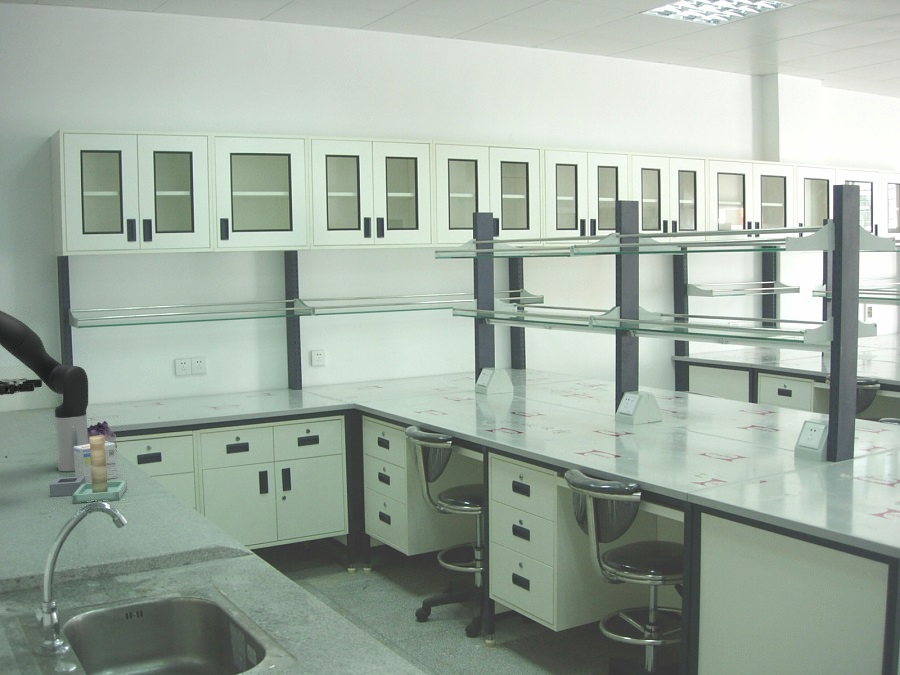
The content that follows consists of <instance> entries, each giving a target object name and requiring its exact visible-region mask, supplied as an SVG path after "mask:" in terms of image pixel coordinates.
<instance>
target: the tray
mask: <svg viewBox="0 0 900 675" xmlns="http://www.w3.org/2000/svg"><path fill="white" fill-rule="evenodd" d="M107 487H108V492H100V493H92V482H91V483H83V484H82V485H81V486H80V487H79V488H78V489H77V491H76V492H75V493H74V494H73V495H71V496H72V504H73V503H75V504H82V503H81V502H87V501H91V500H94V501H95V500H97V501H102V502H104V501H103V500H108V501H107V502H113V501H114V500H115V501H120V500H121V498H122V496H124V494H123V493H125V492H126V491H127V489H128V481H127V480H126V479H125V480H114V481H107ZM110 500H112V501H110ZM90 503H94V502H93V501H91V502H90Z"/></svg>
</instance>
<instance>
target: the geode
mask: <svg viewBox="0 0 900 675" xmlns="http://www.w3.org/2000/svg"><path fill="white" fill-rule="evenodd" d="M87 433H88V444H90V441H89V437H91V436H97V435H103V436H105V441H108V442H112V443H115V448H116V449H117V447H118V445H117V441H116V440H117V439H116V438H117V435H116V433H114V431H113V430H111V429H110V427H109V423H108V422H107V421H106V420H103V422H102V423H101V422H99V421H98V422H97V423H96V424H94V425H93V424H91V425H90V426H89V427H87Z"/></svg>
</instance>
